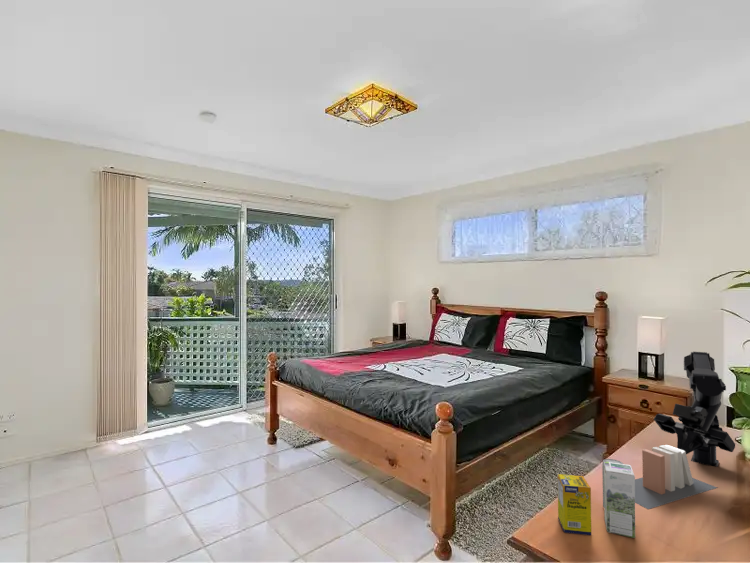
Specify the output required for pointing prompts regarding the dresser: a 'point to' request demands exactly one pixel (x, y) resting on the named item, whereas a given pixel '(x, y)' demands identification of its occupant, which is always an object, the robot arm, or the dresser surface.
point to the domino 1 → (668, 468)
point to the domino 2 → (676, 466)
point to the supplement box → (574, 504)
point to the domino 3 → (685, 467)
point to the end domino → (653, 471)
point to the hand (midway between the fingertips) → (679, 455)
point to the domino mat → (667, 493)
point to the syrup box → (619, 499)
